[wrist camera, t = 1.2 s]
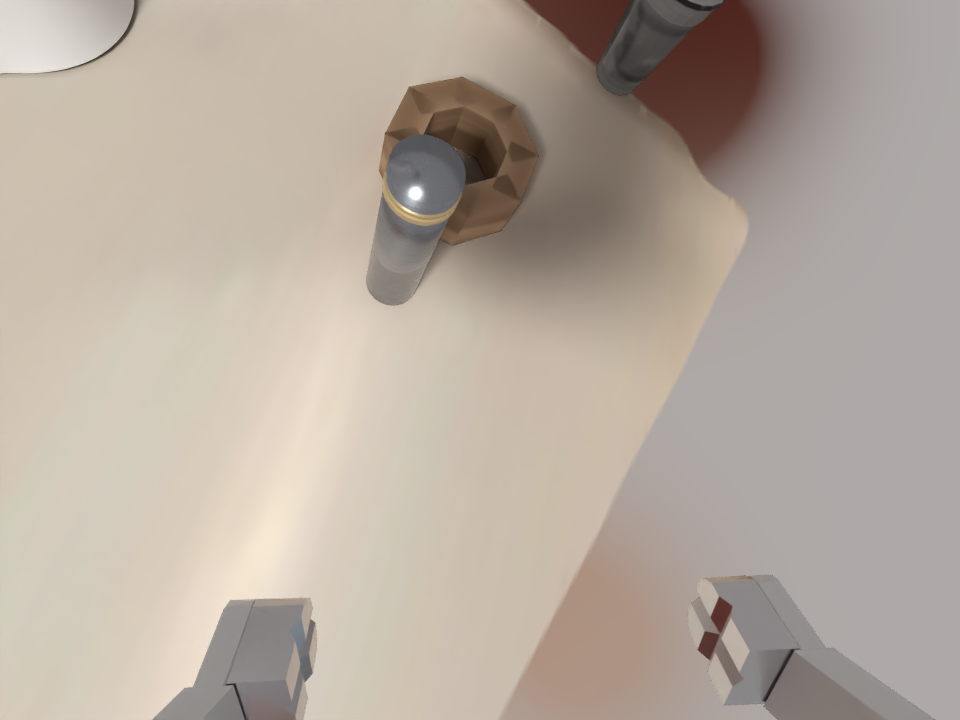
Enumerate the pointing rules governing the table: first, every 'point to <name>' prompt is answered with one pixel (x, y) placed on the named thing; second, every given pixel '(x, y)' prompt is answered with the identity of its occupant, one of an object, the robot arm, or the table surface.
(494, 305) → the table surface
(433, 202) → the gold-banded metal cylinder
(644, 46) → the beverage cup
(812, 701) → the robot arm
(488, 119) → the wooden octagonal ring
